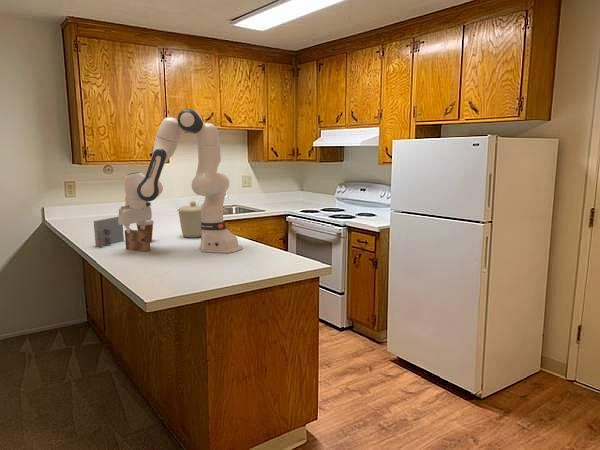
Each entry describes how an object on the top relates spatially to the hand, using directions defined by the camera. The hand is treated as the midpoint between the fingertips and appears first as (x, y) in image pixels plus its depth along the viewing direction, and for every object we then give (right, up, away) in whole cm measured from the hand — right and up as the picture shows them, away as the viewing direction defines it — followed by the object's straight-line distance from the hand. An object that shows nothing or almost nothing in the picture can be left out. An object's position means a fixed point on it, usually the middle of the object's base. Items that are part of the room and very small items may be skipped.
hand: (135, 231), depth 231 cm
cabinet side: (-19, -7, +16) cm, 26 cm away
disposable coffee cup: (-2, -6, +22) cm, 23 cm away
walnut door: (+1, -10, +2) cm, 10 cm away
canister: (+21, -4, +37) cm, 43 cm away
